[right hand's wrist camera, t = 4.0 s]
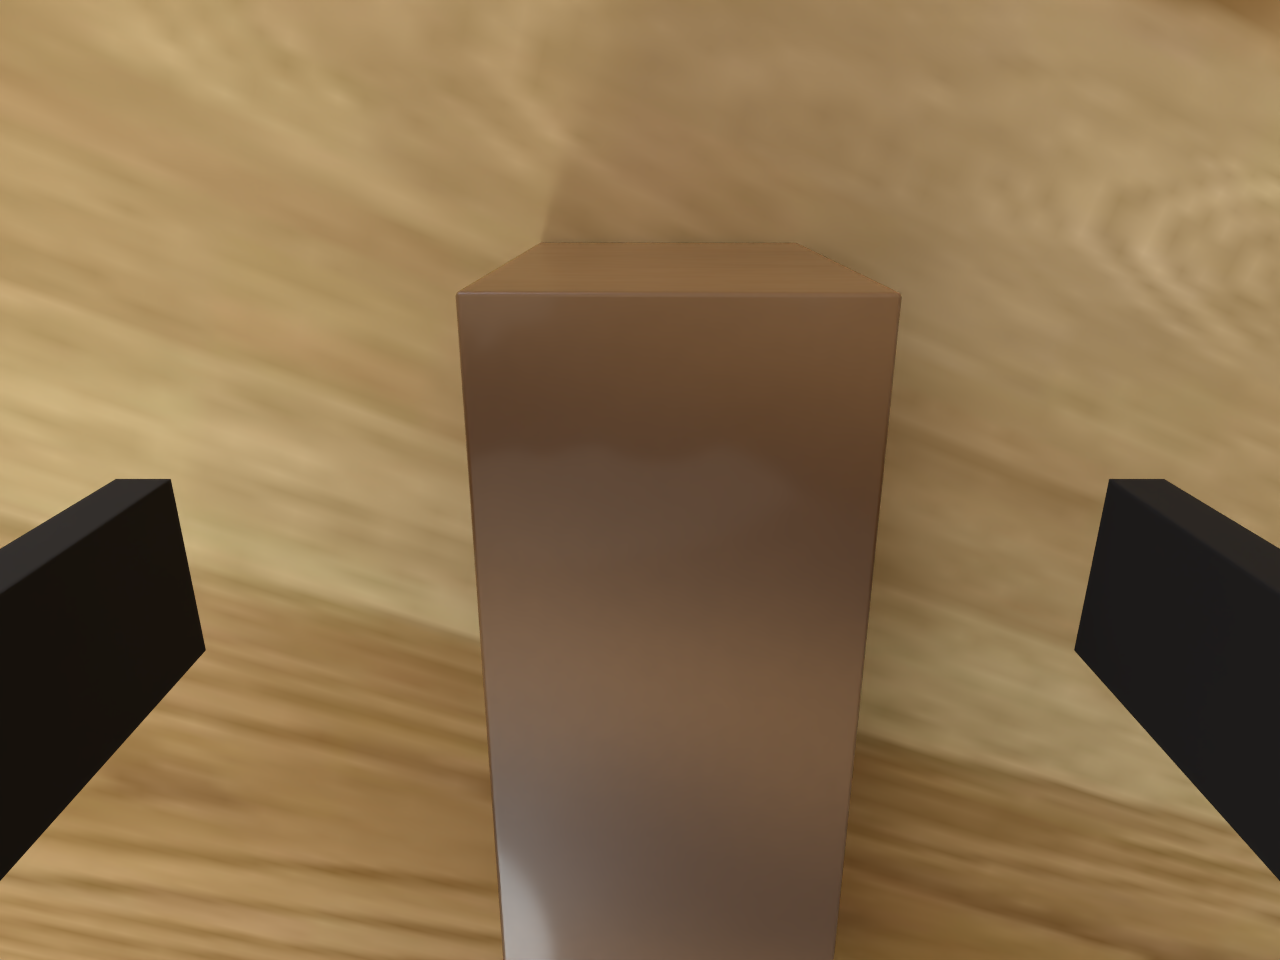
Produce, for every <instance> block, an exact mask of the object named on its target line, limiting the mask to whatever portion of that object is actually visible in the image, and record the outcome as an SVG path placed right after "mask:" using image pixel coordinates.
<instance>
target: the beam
mask: <svg viewBox="0 0 1280 960" xmlns="http://www.w3.org/2000/svg"><path fill="white" fill-rule="evenodd" d="M900 306H901V294H900V293H898V292H896V291H894V290H892V289H890V288H888V287H886V286H884V285H882V284H880V283H878V282H876V281H874V280H872V279H869V278H867V277H865V276H863V275H861V274H859V273H857V272H855V271H853V270H851V269H849V268H847V267H845V266H843V265H841V264H839V263H837V262H834V261H832V260H830V259H828V258H826V257H824V256H822V255H820V254H818V253H816V252H814V251H812V250H810V249H808V248H806V247H804V246H802V245H800V244H797V243H539V244H538V245H536V246H534V247H533V248H531V249H529V250H528V251H526V252H524V253H523V254H521V255H519V256H518V257H516V258H514V259H512V260H511V261H509V262H507V263H506V264H504V265H502V266H501V267H499V268H497V269H496V270H494V271H492V272H491V273H489V274H487V275H485V276H484V277H482V278H480V279H479V280H477V281H475V282H474V283H472V284H470V285H469V286H467V287H465V288H464V289H462V290H460V291H459V292H457V294H456V307H457V321H458V334H459V348H460V362H461V376H462V390H463V404H464V418H465V432H466V446H467V460H468V474H469V488H470V502H471V516H472V530H473V544H474V558H475V571H476V585H477V599H478V613H479V627H480V641H481V655H482V669H483V683H484V697H485V711H486V725H487V739H488V753H489V767H490V781H491V794H492V808H493V822H494V836H495V850H496V864H497V878H498V892H499V906H500V920H501V934H502V948H503V960H834V952H835V942H836V932H837V923H838V913H839V903H840V893H841V883H842V874H843V864H844V854H845V844H846V835H847V825H848V815H849V805H850V795H851V786H852V776H853V766H854V756H855V746H856V737H857V727H858V717H859V707H860V698H861V688H862V678H863V668H864V658H865V649H866V639H867V629H868V619H869V609H870V600H871V590H872V580H873V570H874V560H875V551H876V541H877V531H878V521H879V512H880V502H881V492H882V482H883V472H884V463H885V453H886V443H887V433H888V423H889V414H890V404H891V394H892V384H893V374H894V365H895V355H896V345H897V335H898V326H899V316H900Z"/></svg>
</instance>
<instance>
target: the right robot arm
mask: <svg viewBox="0 0 1280 960" xmlns="http://www.w3.org/2000/svg"><path fill="white" fill-rule="evenodd" d="M205 650H206V649H205V644H204V639H203V634H202V630H201V625H200V620H199V615H198V610H197V605H196V600H195V595H194V590H193V586H192V581H191V576H190V571H189V566H188V561H187V556H186V551H185V547H184V542H183V537H182V532H181V527H180V522H179V517H178V512H177V507H176V503H175V498H174V493H173V488H172V483H171V479H115V480H114V481H112V482H110V483H109V484H107V485H105V486H104V487H102V488H100V489H99V490H97V491H95V492H94V493H92V494H90V495H89V496H87V497H85V498H84V499H82V500H81V501H79V502H77V503H76V504H74V505H72V506H71V507H69V508H67V509H66V510H64V511H62V512H61V513H59V514H57V515H56V516H54V517H52V518H51V519H49V520H47V521H46V522H44V523H42V524H41V525H39V526H37V527H36V528H34V529H32V530H31V531H29V532H27V533H26V534H24V535H23V536H21V537H19V538H18V539H16V540H14V541H13V542H11V543H9V544H8V545H6V546H4V547H3V548H1V549H0V881H1V879H2V878H3V877H4V876H5V875H6V874H7V873H8V872H9V870H10V869H11V868H12V867H13V866H14V865H15V864H16V863H17V861H18V860H19V859H20V858H21V857H22V856H23V855H24V854H25V852H26V851H27V850H28V849H29V848H30V847H31V846H32V845H33V843H34V842H35V841H36V840H37V839H38V838H39V837H40V836H41V834H42V833H43V832H44V831H45V830H46V829H47V828H48V827H49V826H50V824H51V823H52V822H53V821H54V820H55V819H56V818H57V817H58V815H59V814H60V813H61V812H62V811H63V810H64V809H65V808H66V806H67V805H68V804H69V803H70V802H71V801H72V800H73V799H74V797H75V796H76V795H77V794H78V793H79V792H80V791H81V790H82V788H83V787H84V786H85V785H86V784H87V783H88V782H89V781H90V779H91V778H92V777H93V776H94V775H95V774H96V773H97V772H98V771H99V769H100V768H101V767H102V766H103V765H104V764H105V763H106V762H107V760H108V759H109V758H110V757H111V756H112V755H113V754H114V753H115V751H116V750H117V749H118V748H119V747H120V746H121V745H122V744H123V742H124V741H125V740H126V739H127V738H128V737H129V736H130V735H131V733H132V732H133V731H134V730H135V729H136V728H137V727H138V726H139V725H140V723H141V722H142V721H143V720H144V719H145V718H146V717H147V716H148V714H149V713H150V712H151V711H152V710H153V709H154V708H155V707H156V705H157V704H158V703H159V702H160V701H161V700H162V699H163V698H164V696H165V695H166V694H167V693H168V692H169V691H170V690H171V689H172V687H173V686H174V685H175V684H176V683H177V682H178V681H179V680H180V678H181V677H182V676H183V675H184V674H185V673H186V672H187V671H188V670H189V668H190V667H191V666H192V665H193V664H194V663H195V662H196V661H197V659H198V658H199V657H200V656H201V655H202V654H203V653H204V652H205ZM1074 650H1075V652H1076V653H1077V654H1078V655H1079V656H1080V657H1081V658H1082V659H1083V661H1084V662H1085V663H1086V664H1087V665H1088V666H1089V667H1090V668H1091V670H1092V671H1093V672H1094V673H1095V674H1096V675H1097V676H1098V677H1099V678H1100V680H1101V681H1102V682H1103V683H1104V684H1105V685H1106V686H1107V687H1108V689H1109V690H1110V691H1111V692H1112V693H1113V694H1114V695H1115V696H1116V698H1117V699H1118V700H1119V701H1120V702H1121V703H1122V704H1123V705H1124V707H1125V708H1126V709H1127V710H1128V711H1129V712H1130V713H1131V714H1132V716H1133V717H1134V718H1135V719H1136V720H1137V721H1138V722H1139V723H1140V725H1141V726H1142V727H1143V728H1144V729H1145V730H1146V731H1147V732H1148V733H1149V735H1150V736H1151V737H1152V738H1153V739H1154V740H1155V741H1156V742H1157V744H1158V745H1159V746H1160V747H1161V748H1162V749H1163V750H1164V751H1165V753H1166V754H1167V755H1168V756H1169V757H1170V758H1171V759H1172V760H1173V762H1174V763H1175V764H1176V765H1177V766H1178V767H1179V768H1180V769H1181V771H1182V772H1183V773H1184V774H1185V775H1186V776H1187V777H1188V778H1189V779H1190V781H1191V782H1192V783H1193V784H1194V785H1195V786H1196V787H1197V788H1198V790H1199V791H1200V792H1201V793H1202V794H1203V795H1204V796H1205V797H1206V799H1207V800H1208V801H1209V802H1210V803H1211V804H1212V805H1213V806H1214V808H1215V809H1216V810H1217V811H1218V812H1219V813H1220V814H1221V815H1222V817H1223V818H1224V819H1225V820H1226V821H1227V822H1228V823H1229V824H1230V826H1231V827H1232V828H1233V829H1234V830H1235V831H1236V832H1237V833H1238V834H1239V836H1240V837H1241V838H1242V839H1243V840H1244V841H1245V842H1246V843H1247V845H1248V846H1249V847H1250V848H1251V849H1252V850H1253V851H1254V852H1255V854H1256V855H1257V856H1258V857H1259V858H1260V859H1261V860H1262V861H1263V863H1264V864H1265V865H1266V866H1267V867H1268V868H1269V869H1270V870H1271V872H1272V873H1273V874H1274V875H1275V876H1276V877H1277V878H1278V879H1279V881H1280V549H1279V548H1277V547H1276V546H1274V545H1272V544H1271V543H1269V542H1267V541H1266V540H1264V539H1262V538H1261V537H1259V536H1257V535H1256V534H1254V533H1253V532H1251V531H1249V530H1248V529H1246V528H1244V527H1243V526H1241V525H1239V524H1238V523H1236V522H1234V521H1233V520H1231V519H1229V518H1228V517H1226V516H1224V515H1223V514H1221V513H1219V512H1218V511H1216V510H1214V509H1213V508H1211V507H1209V506H1208V505H1206V504H1204V503H1203V502H1201V501H1199V500H1198V499H1196V498H1195V497H1193V496H1191V495H1190V494H1188V493H1186V492H1185V491H1183V490H1181V489H1180V488H1178V487H1176V486H1175V485H1173V484H1171V483H1170V482H1168V481H1166V480H1165V479H1109V483H1108V488H1107V493H1106V498H1105V503H1104V507H1103V512H1102V517H1101V522H1100V527H1099V532H1098V537H1097V542H1096V547H1095V551H1094V556H1093V561H1092V566H1091V571H1090V576H1089V581H1088V586H1087V590H1086V595H1085V600H1084V605H1083V610H1082V615H1081V620H1080V625H1079V630H1078V634H1077V639H1076V644H1075V649H1074Z"/></svg>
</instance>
